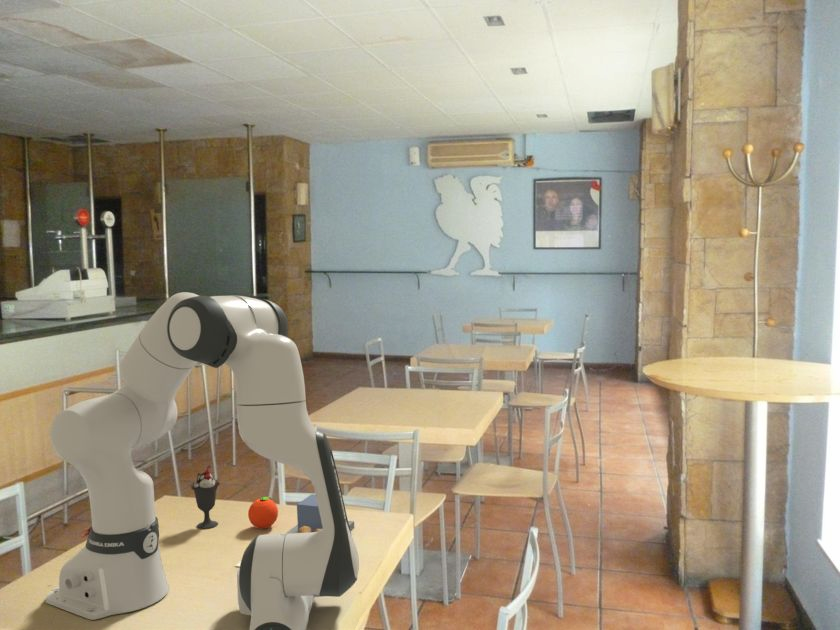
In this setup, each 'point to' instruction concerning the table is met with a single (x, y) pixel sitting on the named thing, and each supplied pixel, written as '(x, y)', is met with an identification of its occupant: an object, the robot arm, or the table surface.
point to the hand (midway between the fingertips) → (299, 560)
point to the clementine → (263, 512)
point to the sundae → (205, 497)
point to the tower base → (310, 515)
